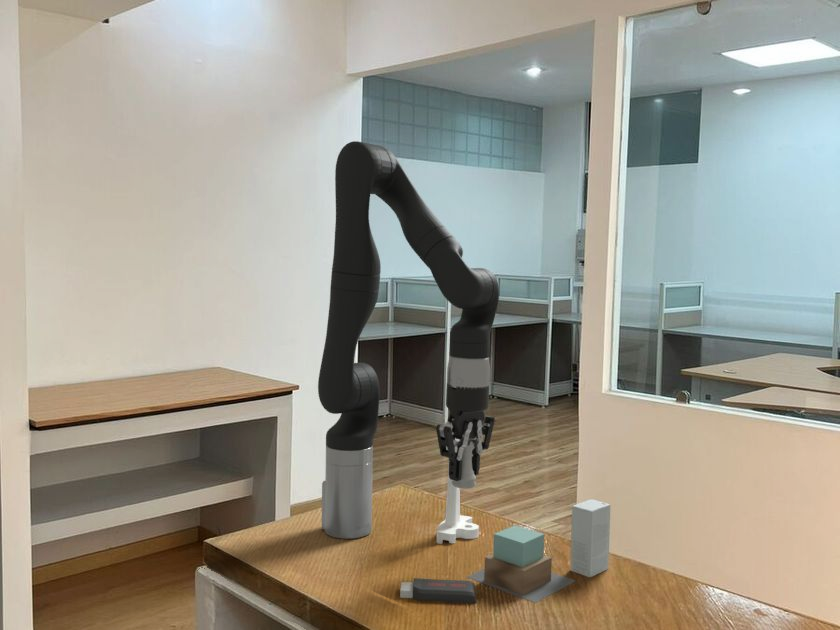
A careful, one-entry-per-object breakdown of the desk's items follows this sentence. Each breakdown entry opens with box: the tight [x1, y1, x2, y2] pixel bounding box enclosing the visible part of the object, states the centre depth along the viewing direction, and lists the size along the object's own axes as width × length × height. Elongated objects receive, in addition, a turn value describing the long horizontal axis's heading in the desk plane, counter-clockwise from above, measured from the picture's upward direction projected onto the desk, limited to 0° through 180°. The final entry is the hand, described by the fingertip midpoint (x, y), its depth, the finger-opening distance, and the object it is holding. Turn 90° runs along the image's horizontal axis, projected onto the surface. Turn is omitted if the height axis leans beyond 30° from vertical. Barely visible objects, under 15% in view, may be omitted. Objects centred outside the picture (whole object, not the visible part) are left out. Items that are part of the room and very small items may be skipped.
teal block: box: [492, 525, 545, 567], centre depth 130 cm, size 6×6×4 cm
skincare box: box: [570, 498, 611, 578], centre depth 136 cm, size 6×4×12 cm
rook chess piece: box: [452, 440, 477, 490], centre depth 138 cm, size 4×4×8 cm
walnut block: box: [483, 553, 553, 595], centre depth 131 cm, size 8×8×4 cm
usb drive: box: [399, 577, 477, 604], centre depth 125 cm, size 5×12×3 cm, turn 88°
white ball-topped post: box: [436, 438, 480, 545], centre depth 152 cm, size 11×8×20 cm
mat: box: [466, 568, 576, 604], centre depth 132 cm, size 14×12×1 cm
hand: (463, 476), depth 138 cm, fingers closed on rook chess piece, 4 cm apart
